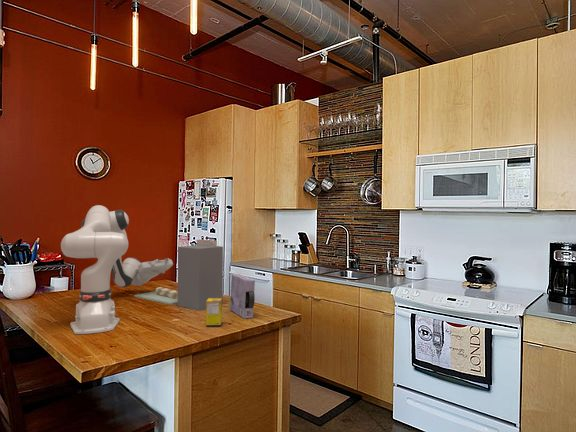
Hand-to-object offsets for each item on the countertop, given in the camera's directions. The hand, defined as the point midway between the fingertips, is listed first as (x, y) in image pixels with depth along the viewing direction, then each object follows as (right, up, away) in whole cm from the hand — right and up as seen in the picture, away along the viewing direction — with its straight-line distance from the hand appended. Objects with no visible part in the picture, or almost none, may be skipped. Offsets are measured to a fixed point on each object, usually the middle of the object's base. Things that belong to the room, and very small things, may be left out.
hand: (163, 259), depth 218 cm
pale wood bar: (+27, +9, -13) cm, 31 cm away
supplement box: (+39, -22, -52) cm, 69 cm away
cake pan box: (+48, -22, -35) cm, 63 cm away
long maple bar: (+5, -19, -3) cm, 20 cm away
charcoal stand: (+25, -21, -18) cm, 37 cm away
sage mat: (+2, -21, -1) cm, 21 cm away
